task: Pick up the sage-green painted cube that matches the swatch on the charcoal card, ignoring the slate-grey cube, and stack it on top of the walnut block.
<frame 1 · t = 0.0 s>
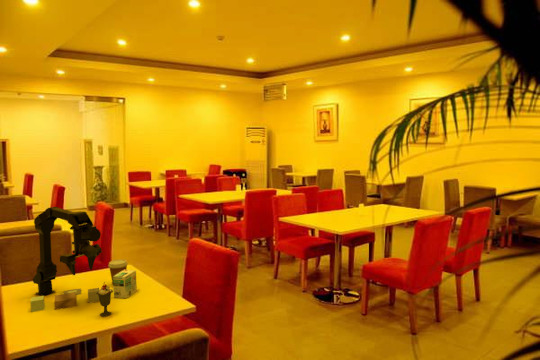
hand: (82, 272, 192), 15 cm above the table, fingers open, 9 cm apart
disposable coffee cup: (119, 284, 218), on the table
sundae: (105, 314, 180), on the table
walnut block: (66, 305, 192), on the table
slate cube: (94, 300, 196), on the table
swatch card: (72, 292, 206), on the table
light bulb box: (125, 294, 203), on the table
sage cube: (38, 309, 187), on the table
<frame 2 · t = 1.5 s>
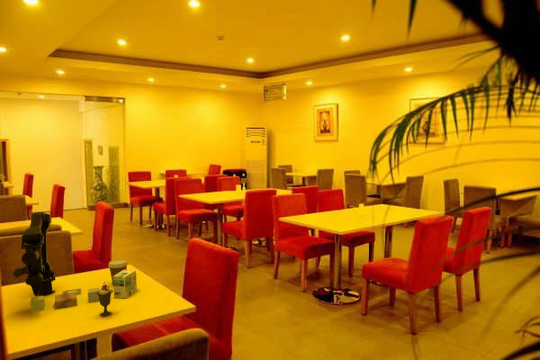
hand: (36, 292, 186), 8 cm above the table, fingers open, 9 cm apart
nothing on the table moved.
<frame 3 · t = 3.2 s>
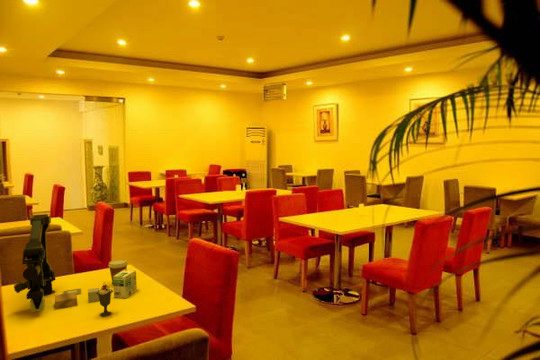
hand: (37, 306, 187), 1 cm above the table, fingers closed on sage cube, 5 cm apart
sage cube: (38, 308, 187), on the table, touching gripper
everything else where it was.
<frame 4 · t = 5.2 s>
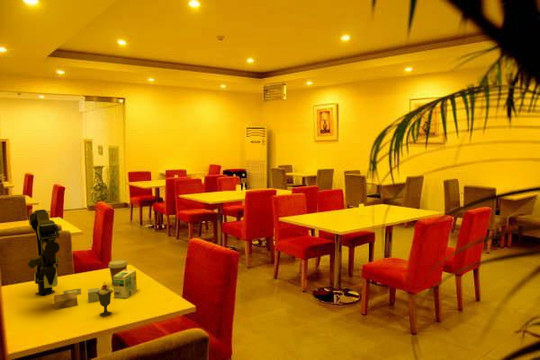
hand: (51, 283, 188), 11 cm above the table, fingers closed on sage cube, 5 cm apart
sage cube: (51, 285, 188), point 10 cm above the table, touching gripper
everything else where it was.
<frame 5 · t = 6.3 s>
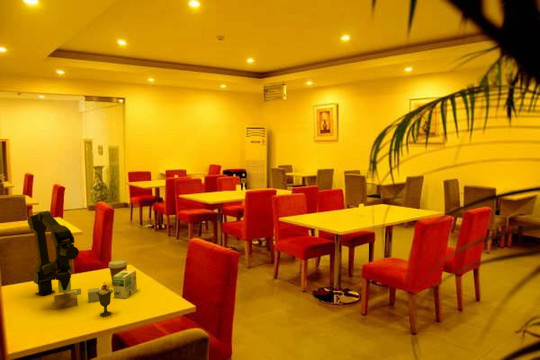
hand: (64, 288, 191), 8 cm above the table, fingers closed on sage cube, 5 cm apart
sage cube: (65, 290, 191), point 7 cm above the table, touching gripper
everything else where it was.
when the fingers open (6 cm above the table, at t = 7.3 s): sage cube drops 2 cm, point 4 cm above the table.
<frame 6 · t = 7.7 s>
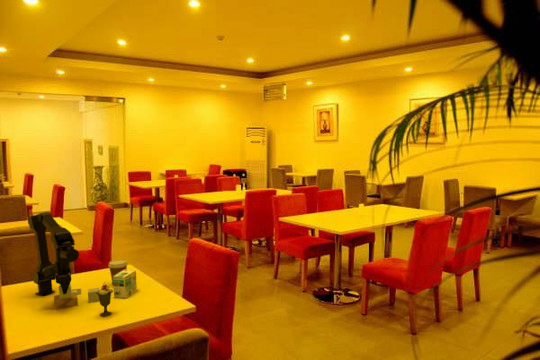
hand: (65, 290, 191), 6 cm above the table, fingers open, 9 cm apart
sage cube: (65, 296, 192), point 4 cm above the table
everything else where it was.
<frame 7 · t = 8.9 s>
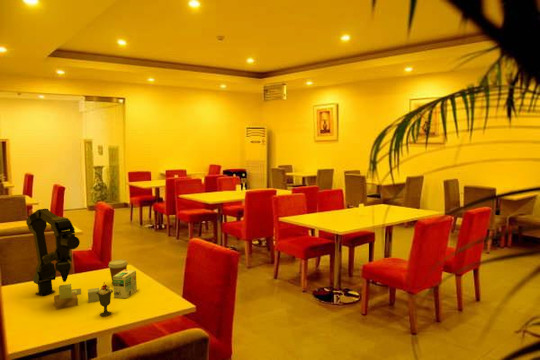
hand: (64, 278, 192), 12 cm above the table, fingers open, 9 cm apart
walnut block: (66, 305, 192), on the table, touching sage cube
sage cube: (65, 296, 192), point 4 cm above the table, touching walnut block
everything else where it was.
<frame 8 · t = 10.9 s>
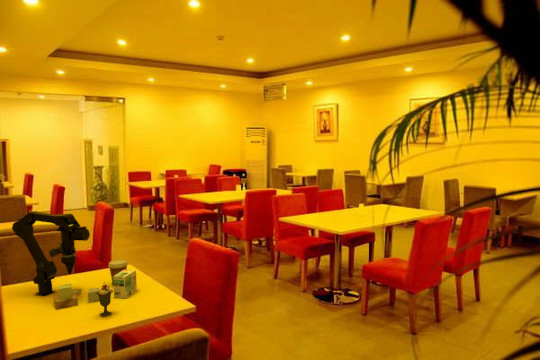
hand: (69, 271, 202), 12 cm above the table, fingers open, 9 cm apart
nothing on the table moved.
at the end: sage cube 0.1 cm off-centre on the walnut block, point 4.0 cm above the walnut block's base; sage cube tilted 0°; the gripper is holding nothing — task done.
